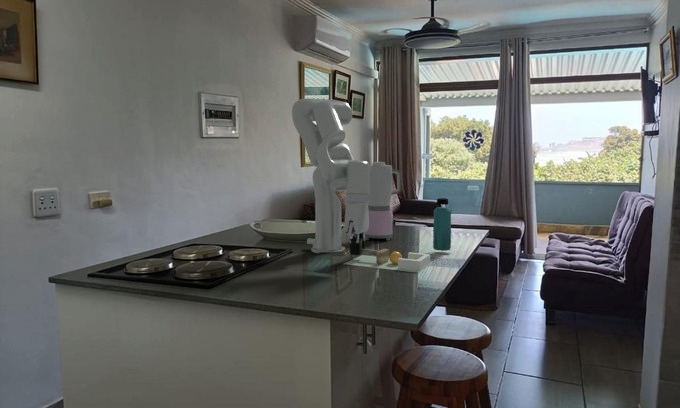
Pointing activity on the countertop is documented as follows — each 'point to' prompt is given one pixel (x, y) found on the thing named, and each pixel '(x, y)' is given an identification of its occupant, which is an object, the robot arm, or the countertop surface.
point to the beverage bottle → (442, 226)
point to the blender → (381, 200)
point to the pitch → (371, 262)
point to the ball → (395, 257)
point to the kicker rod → (376, 253)
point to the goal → (414, 261)
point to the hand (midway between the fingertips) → (357, 253)
